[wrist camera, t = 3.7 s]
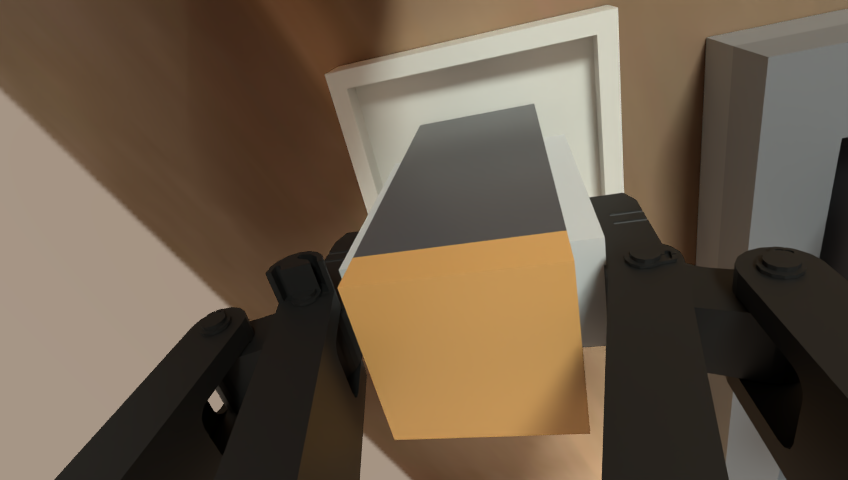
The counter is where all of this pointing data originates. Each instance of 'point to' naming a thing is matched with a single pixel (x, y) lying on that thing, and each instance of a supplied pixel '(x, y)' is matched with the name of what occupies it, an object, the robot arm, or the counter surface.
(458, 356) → the plug
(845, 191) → the twin plug
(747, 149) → the grey socket block
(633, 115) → the counter surface
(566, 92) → the tray
